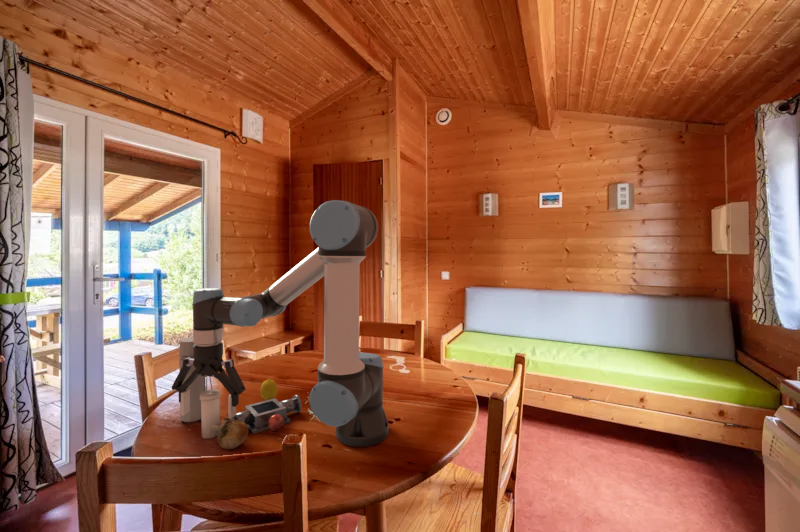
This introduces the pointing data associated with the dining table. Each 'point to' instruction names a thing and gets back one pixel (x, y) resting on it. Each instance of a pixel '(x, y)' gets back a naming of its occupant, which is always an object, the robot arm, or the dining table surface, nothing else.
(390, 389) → the dining table surface
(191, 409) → the water bottle
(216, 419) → the pipe stub
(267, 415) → the valve body
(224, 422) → the onion
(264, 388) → the lemon
